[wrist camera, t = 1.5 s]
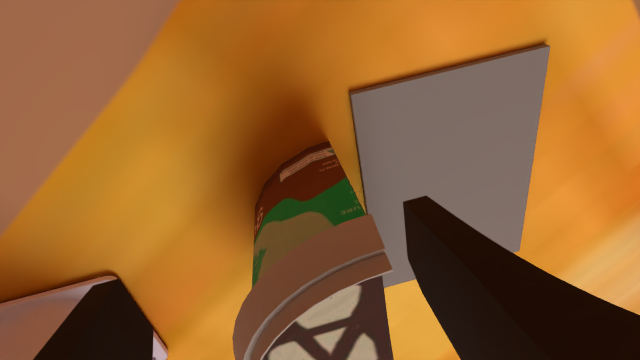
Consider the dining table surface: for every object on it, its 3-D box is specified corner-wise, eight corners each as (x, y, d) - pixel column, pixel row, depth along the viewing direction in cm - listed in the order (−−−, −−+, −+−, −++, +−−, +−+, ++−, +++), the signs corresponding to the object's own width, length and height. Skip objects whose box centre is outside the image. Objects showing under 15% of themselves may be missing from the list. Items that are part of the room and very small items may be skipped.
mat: (376, 284, 27) (378, 289, 27) (349, 92, 19) (351, 95, 19) (516, 246, 27) (519, 250, 27) (544, 44, 20) (550, 46, 19)
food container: (200, 144, 19) (176, 313, 11) (324, 114, 20) (392, 256, 11) (263, 306, 26) (278, 484, 18) (354, 282, 26) (409, 445, 18)
